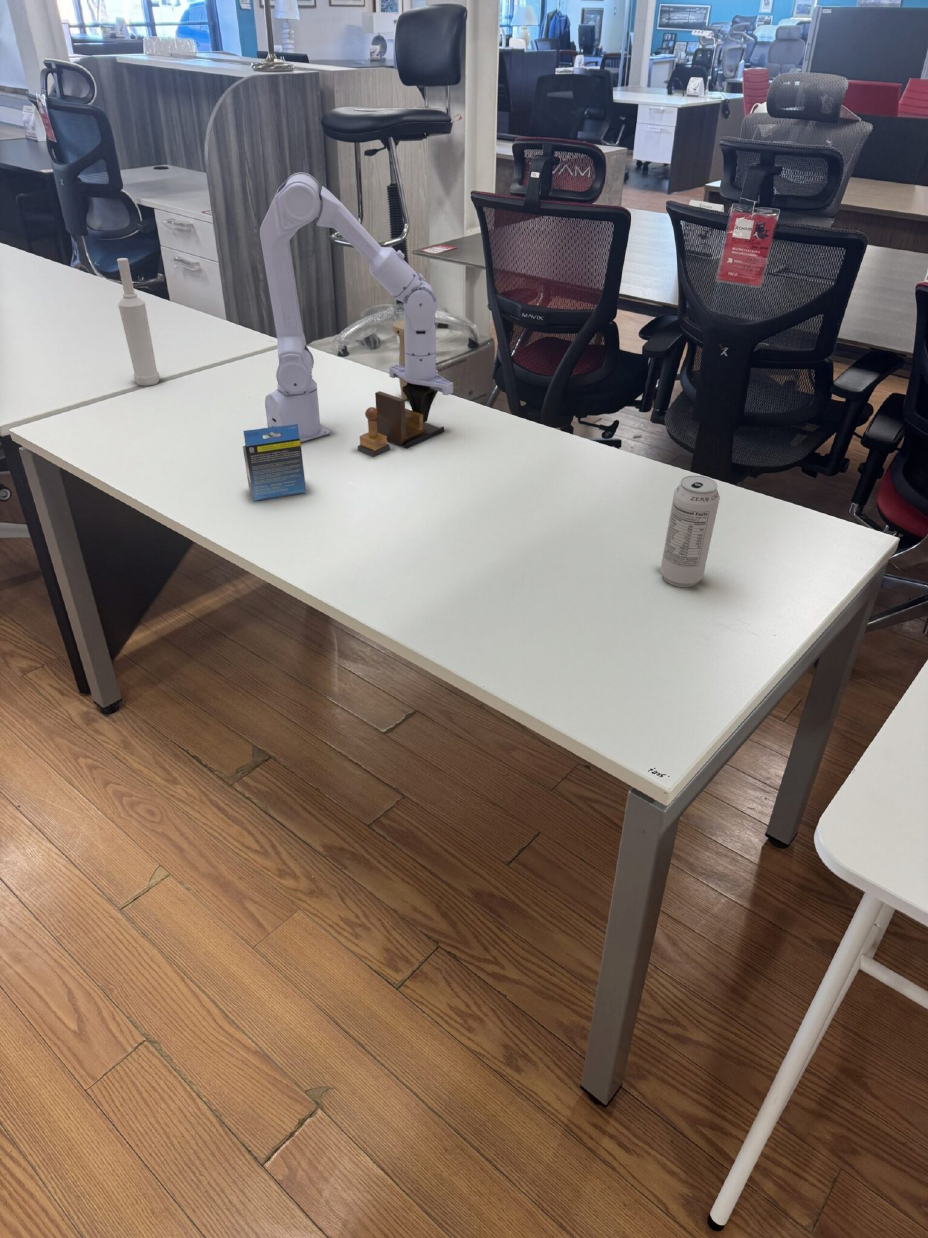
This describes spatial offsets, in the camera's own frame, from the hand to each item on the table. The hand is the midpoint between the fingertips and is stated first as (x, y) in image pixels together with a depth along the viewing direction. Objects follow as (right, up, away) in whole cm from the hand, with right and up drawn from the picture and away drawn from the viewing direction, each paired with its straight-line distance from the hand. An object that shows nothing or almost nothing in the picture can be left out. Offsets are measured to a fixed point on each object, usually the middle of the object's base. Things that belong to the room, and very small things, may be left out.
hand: (421, 421), depth 163 cm
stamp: (-6, -5, -6) cm, 10 cm away
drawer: (-4, -3, -3) cm, 6 cm away
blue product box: (-23, -17, -21) cm, 36 cm away
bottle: (-60, +13, +20) cm, 65 cm away
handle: (-3, +8, +14) cm, 17 cm away
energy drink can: (+39, -32, -41) cm, 65 cm away
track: (-2, -3, -1) cm, 3 cm away
